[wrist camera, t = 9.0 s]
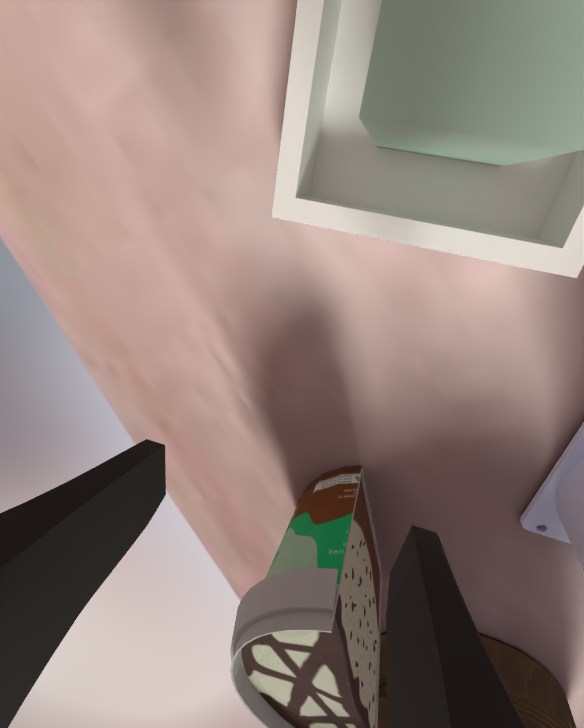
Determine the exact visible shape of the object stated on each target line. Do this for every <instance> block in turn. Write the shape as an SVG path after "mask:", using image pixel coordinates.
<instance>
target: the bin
mask: <svg viewBox="0 0 584 728" xmlns="http://www.w3.org/2000/svg"><path fill="white" fill-rule="evenodd" d="M381 3H382V0H298V2H297V10H296V18H295V27H294V35H293V44H292V52H291V60H290V69H289V77H288V85H287V94H286V102H285V110H284V119H283V127H282V136H281V144H280V152H279V161H278V169H277V177H276V186H275V194H274V203H273V211H272V217H273V218H278V219H283V220H288V221H293V222H298V223H303V224H308V225H313V226H318V227H323V228H328V229H333V230H338V231H343V232H348V233H353V234H358V235H363V236H368V237H373V238H378V239H383V240H388V241H393V242H398V243H403V244H408V245H413V246H418V247H423V248H428V249H433V250H438V251H443V252H448V253H453V254H458V255H463V256H468V257H473V258H478V259H483V260H488V261H493V262H498V263H503V264H508V265H513V266H518V267H523V268H528V269H533V270H538V271H543V272H548V273H553V274H558V275H563V276H568V277H573V278H577V277H578V275H579V273H580V271H581V269H582V267H583V265H584V148H583V150H581V151H576V152H571V153H566V154H561V155H556V156H551V157H545V158H540V159H535V160H530V161H525V162H520V163H515V164H510V165H505V166H493V165H487V164H481V163H474V162H468V161H462V160H455V159H449V158H442V157H436V156H430V155H423V154H417V153H411V152H404V151H398V150H392V149H385V148H379V147H377V146H376V144H375V143H374V141H373V140H372V138H371V136H370V135H369V133H368V132H367V130H366V128H365V127H364V125H363V124H362V122H361V120H360V119H359V113H360V108H361V103H362V98H363V93H364V88H365V83H366V78H367V73H368V68H369V63H370V58H371V53H372V48H373V43H374V38H375V33H376V28H377V23H378V18H379V13H380V8H381Z"/></svg>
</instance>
